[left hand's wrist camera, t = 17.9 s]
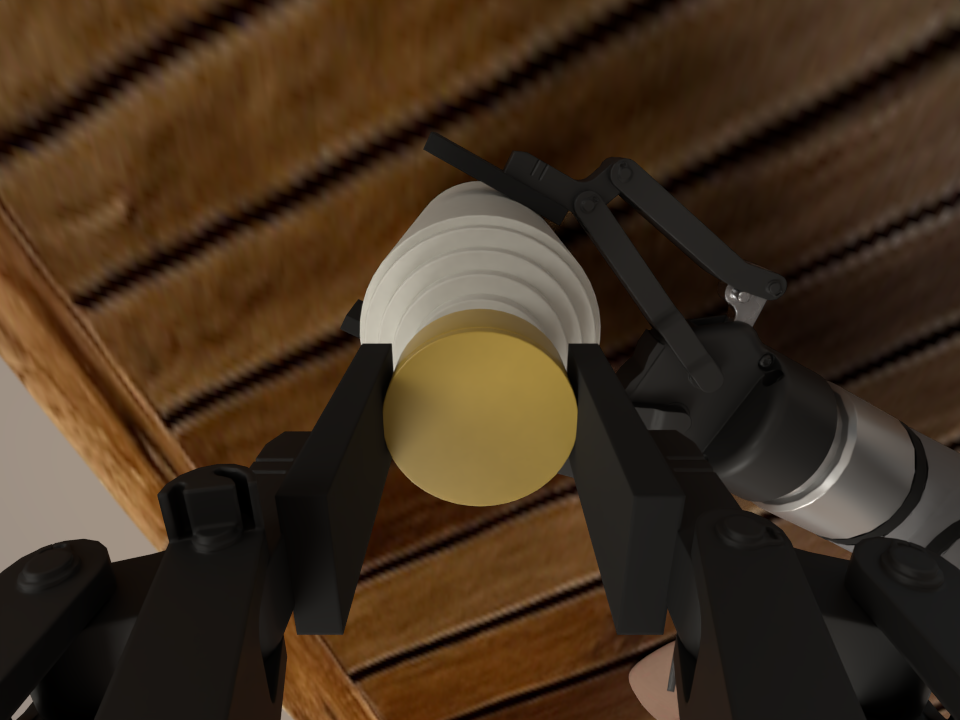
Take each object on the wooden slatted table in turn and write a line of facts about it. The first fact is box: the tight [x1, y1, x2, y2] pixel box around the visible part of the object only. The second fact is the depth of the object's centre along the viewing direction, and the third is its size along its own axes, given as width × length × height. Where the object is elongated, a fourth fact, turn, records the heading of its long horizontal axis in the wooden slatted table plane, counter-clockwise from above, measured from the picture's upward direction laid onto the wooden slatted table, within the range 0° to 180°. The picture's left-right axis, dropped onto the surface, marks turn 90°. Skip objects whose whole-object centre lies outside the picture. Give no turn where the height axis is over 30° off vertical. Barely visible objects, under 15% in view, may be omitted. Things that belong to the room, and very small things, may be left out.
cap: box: [383, 309, 578, 506], centre depth 14 cm, size 5×5×2 cm
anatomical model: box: [629, 641, 680, 720], centre depth 43 cm, size 13×4×12 cm
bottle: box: [360, 181, 601, 372], centre depth 23 cm, size 8×8×20 cm
